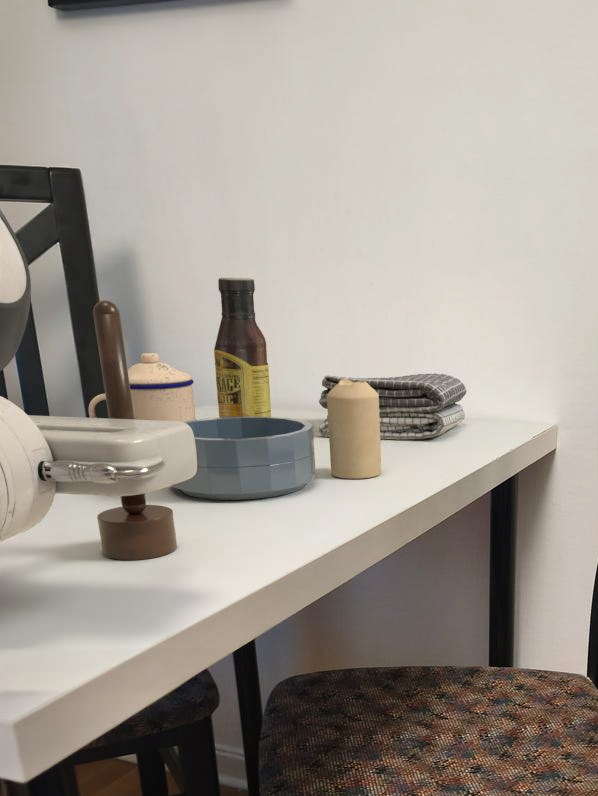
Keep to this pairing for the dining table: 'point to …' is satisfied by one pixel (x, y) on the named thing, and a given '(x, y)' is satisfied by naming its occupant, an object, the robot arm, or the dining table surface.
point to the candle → (354, 430)
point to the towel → (410, 404)
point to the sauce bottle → (240, 354)
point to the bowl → (250, 457)
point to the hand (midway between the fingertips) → (100, 430)
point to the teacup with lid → (157, 392)
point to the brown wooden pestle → (135, 521)
